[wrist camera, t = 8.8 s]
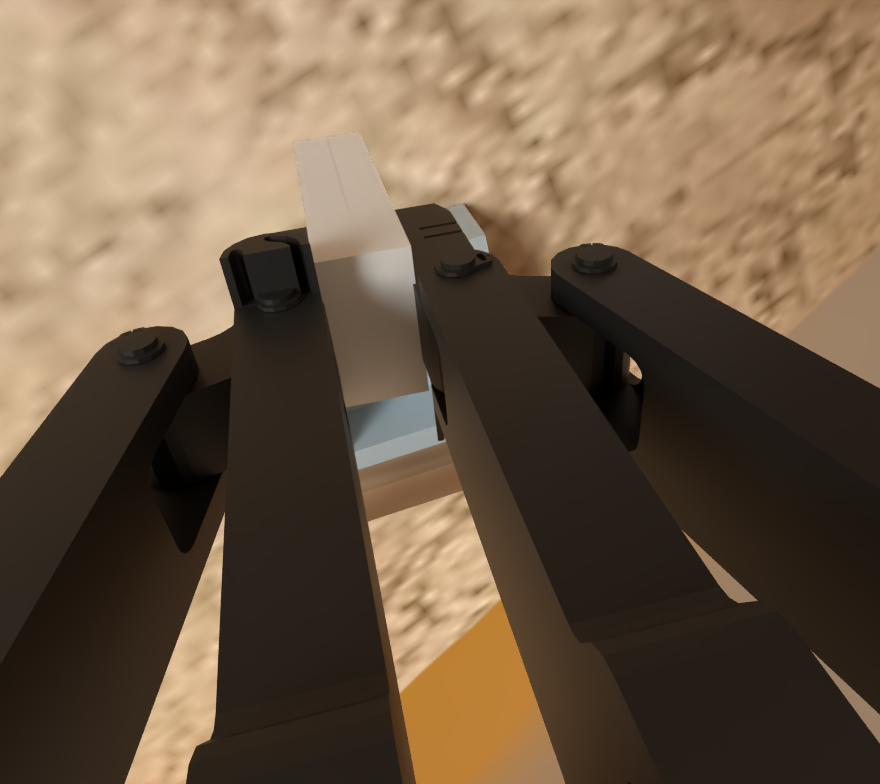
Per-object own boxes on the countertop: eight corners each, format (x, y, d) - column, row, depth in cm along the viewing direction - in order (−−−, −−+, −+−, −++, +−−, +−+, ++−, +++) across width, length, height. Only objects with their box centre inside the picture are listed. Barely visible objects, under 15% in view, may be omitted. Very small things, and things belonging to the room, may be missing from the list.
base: (295, 439, 39) (299, 512, 34) (530, 363, 39) (567, 425, 34) (324, 499, 42) (332, 575, 37) (542, 428, 42) (578, 494, 37)
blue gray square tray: (254, 267, 33) (253, 306, 29) (463, 203, 33) (485, 234, 30) (326, 431, 39) (331, 478, 35) (501, 374, 39) (522, 416, 36)
